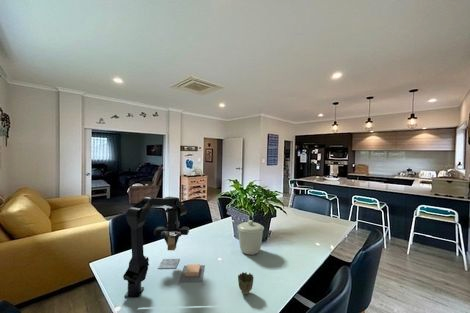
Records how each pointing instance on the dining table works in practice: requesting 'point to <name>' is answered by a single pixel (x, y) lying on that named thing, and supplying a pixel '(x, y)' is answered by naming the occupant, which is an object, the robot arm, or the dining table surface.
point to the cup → (245, 282)
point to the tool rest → (168, 264)
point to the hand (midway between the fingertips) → (171, 245)
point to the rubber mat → (192, 278)
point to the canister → (250, 237)
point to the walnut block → (171, 242)
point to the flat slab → (192, 270)
